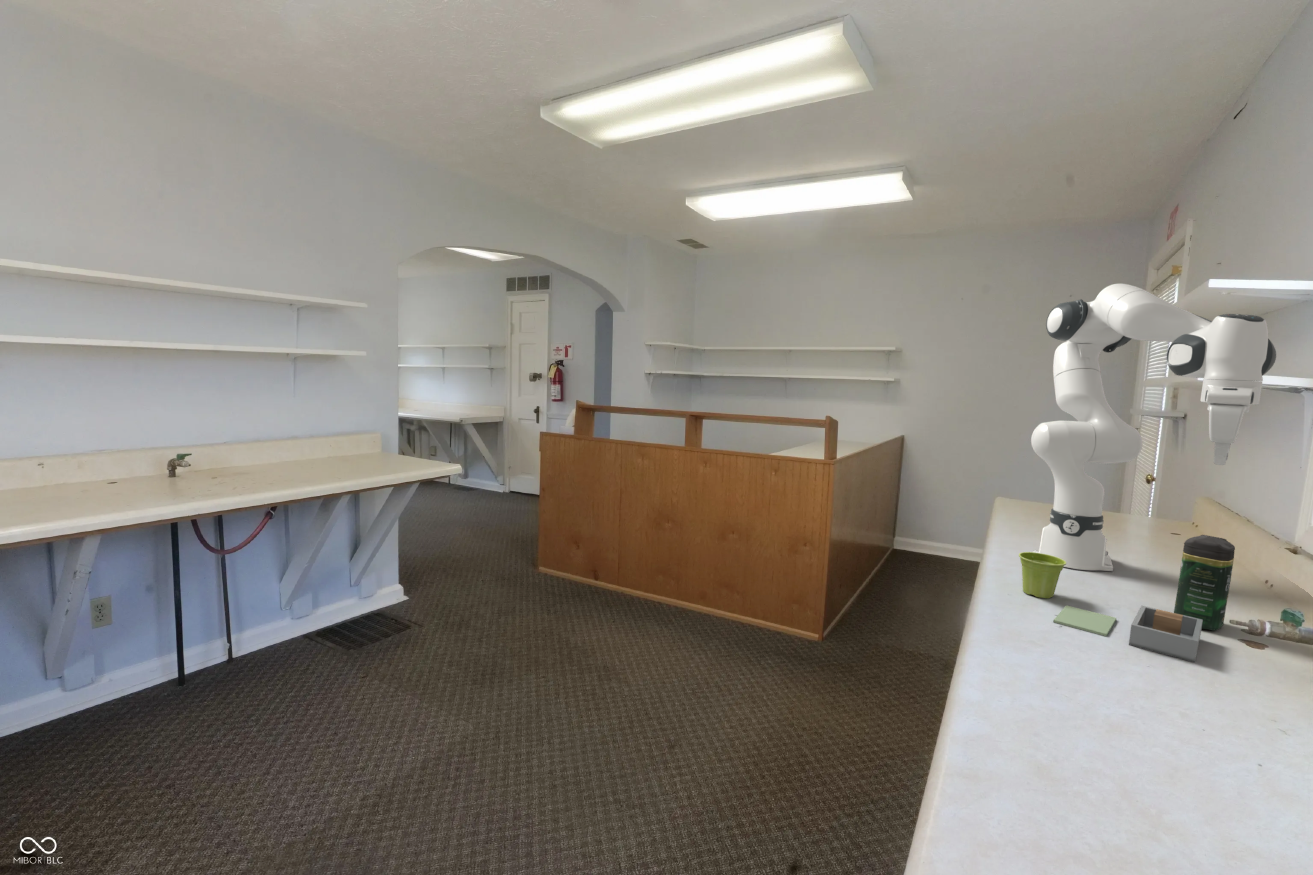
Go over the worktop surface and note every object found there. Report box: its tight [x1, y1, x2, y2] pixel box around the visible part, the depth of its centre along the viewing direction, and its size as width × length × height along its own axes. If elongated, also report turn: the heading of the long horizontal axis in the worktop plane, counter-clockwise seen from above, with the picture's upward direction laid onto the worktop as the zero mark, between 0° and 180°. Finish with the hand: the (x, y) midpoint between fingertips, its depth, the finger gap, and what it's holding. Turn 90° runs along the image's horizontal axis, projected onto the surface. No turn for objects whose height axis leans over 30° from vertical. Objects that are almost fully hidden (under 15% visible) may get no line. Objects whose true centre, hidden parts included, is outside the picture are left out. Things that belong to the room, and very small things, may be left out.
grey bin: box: [1128, 605, 1203, 663], centre depth 120 cm, size 15×10×4 cm, turn 136°
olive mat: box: [1052, 605, 1117, 637], centre depth 129 cm, size 12×9×1 cm
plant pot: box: [1018, 551, 1066, 599], centre depth 144 cm, size 9×9×9 cm
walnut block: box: [1152, 608, 1183, 635], centre depth 120 cm, size 4×4×5 cm
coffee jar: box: [1173, 534, 1236, 631], centre depth 129 cm, size 10×8×19 cm
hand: (1220, 462), depth 127 cm, fingers open, 8 cm apart
